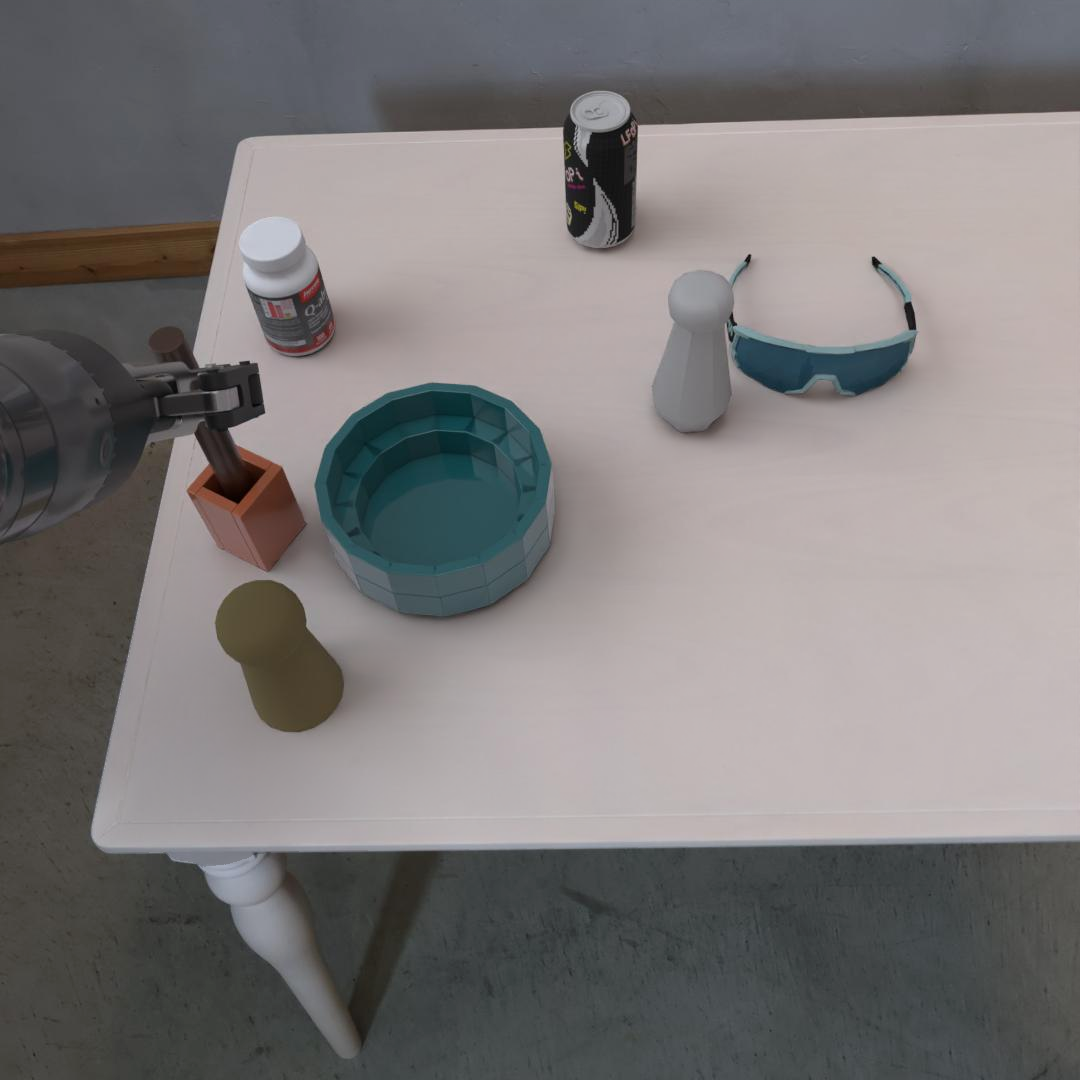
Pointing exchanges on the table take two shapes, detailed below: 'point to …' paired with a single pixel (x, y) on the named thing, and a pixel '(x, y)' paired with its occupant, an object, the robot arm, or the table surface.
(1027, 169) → the table surface
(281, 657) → the cork
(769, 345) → the sunglasses
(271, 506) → the holder
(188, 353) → the stick
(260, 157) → the table surface
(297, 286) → the pill bottle
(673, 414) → the salt shaker
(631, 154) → the beverage can
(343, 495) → the bowl
